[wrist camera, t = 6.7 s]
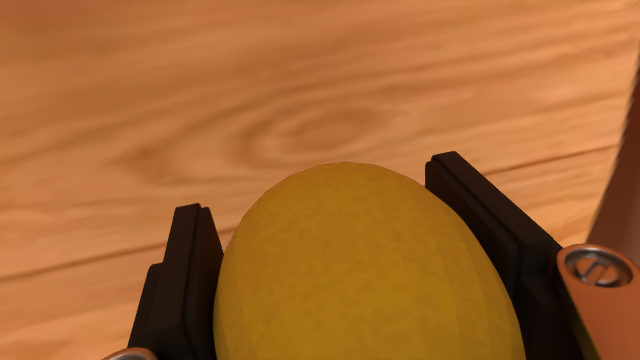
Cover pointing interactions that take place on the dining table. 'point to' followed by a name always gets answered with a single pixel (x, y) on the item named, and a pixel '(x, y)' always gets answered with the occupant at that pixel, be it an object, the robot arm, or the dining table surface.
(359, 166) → the lemon
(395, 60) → the dining table surface
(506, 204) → the robot arm
